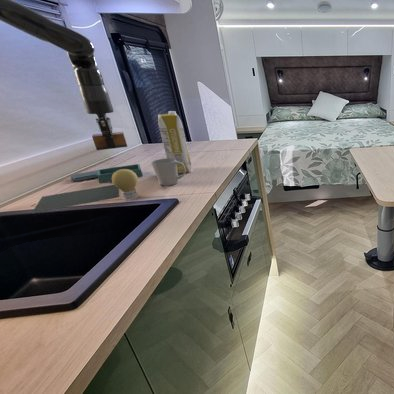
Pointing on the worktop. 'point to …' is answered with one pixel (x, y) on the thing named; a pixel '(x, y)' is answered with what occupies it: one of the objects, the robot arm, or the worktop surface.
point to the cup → (167, 171)
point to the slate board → (76, 198)
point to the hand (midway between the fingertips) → (111, 146)
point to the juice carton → (174, 140)
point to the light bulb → (126, 183)
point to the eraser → (117, 138)
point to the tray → (106, 174)
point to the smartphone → (84, 176)
